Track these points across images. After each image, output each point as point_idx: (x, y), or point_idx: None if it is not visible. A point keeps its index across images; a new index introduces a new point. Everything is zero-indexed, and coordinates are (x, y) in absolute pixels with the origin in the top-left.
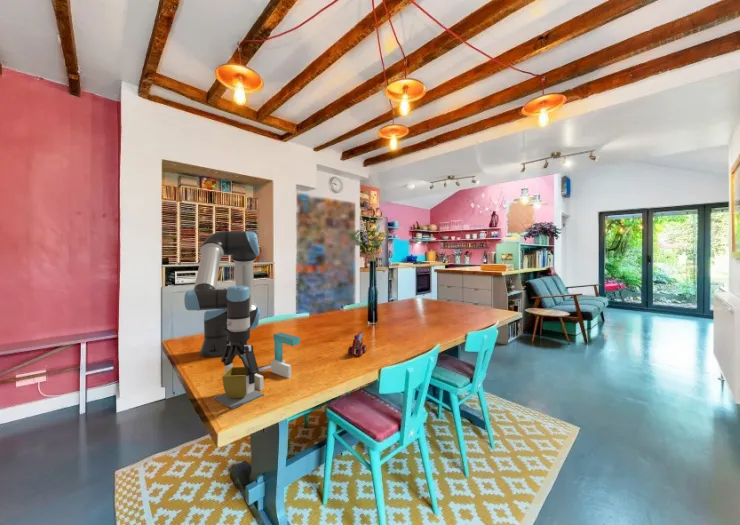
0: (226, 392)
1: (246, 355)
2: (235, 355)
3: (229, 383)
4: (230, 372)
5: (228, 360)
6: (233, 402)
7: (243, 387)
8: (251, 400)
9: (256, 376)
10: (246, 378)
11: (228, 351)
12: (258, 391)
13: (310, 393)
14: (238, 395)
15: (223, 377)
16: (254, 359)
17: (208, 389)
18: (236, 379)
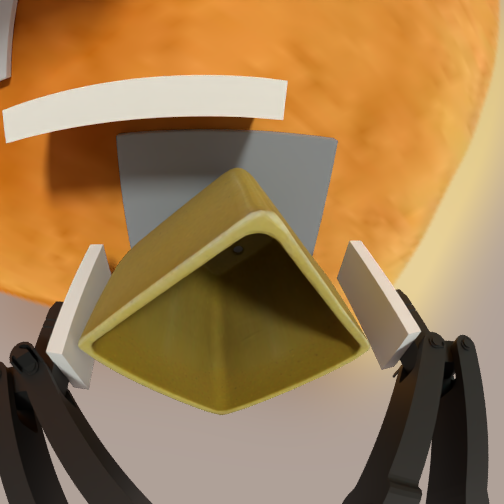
0: (222, 318)
1: (434, 491)
2: (110, 474)
3: (249, 358)
4: (124, 340)
5: (97, 438)
6: None
7: (314, 294)
8: (319, 214)
9: (218, 115)
10: (376, 348)
11: (49, 494)
12: (282, 135)
13: (486, 46)
14: (264, 267)
15: (228, 406)
16: (480, 429)
17: (35, 270)
18: (293, 362)
